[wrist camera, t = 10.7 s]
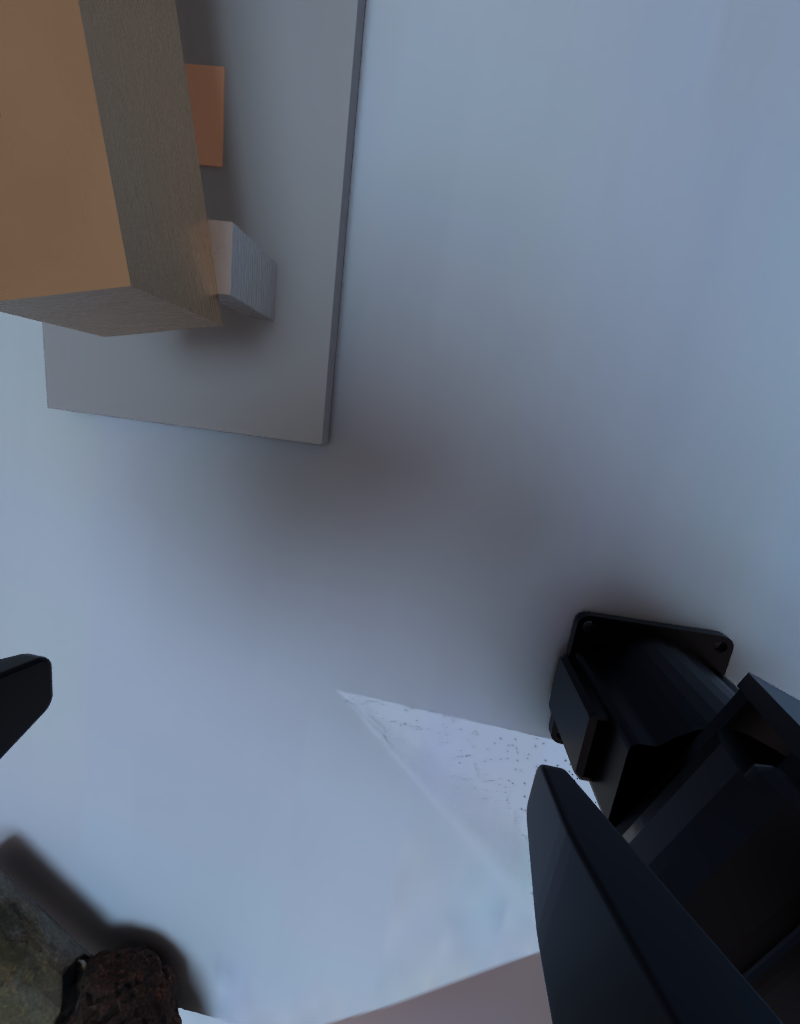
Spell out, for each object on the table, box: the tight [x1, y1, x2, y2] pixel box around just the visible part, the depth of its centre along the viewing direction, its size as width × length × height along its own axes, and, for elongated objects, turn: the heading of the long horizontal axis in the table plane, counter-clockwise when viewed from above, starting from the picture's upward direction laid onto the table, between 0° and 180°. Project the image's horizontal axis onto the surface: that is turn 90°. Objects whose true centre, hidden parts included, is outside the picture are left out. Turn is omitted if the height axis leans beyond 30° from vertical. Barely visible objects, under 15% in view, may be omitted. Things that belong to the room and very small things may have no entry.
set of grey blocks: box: [207, 219, 278, 321], centre depth 13 cm, size 8×13×4 cm, turn 173°
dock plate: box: [42, 0, 366, 445], centre depth 16 cm, size 12×22×1 cm, turn 173°
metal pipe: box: [0, 869, 182, 1024], centre depth 23 cm, size 18×7×6 cm, turn 41°
